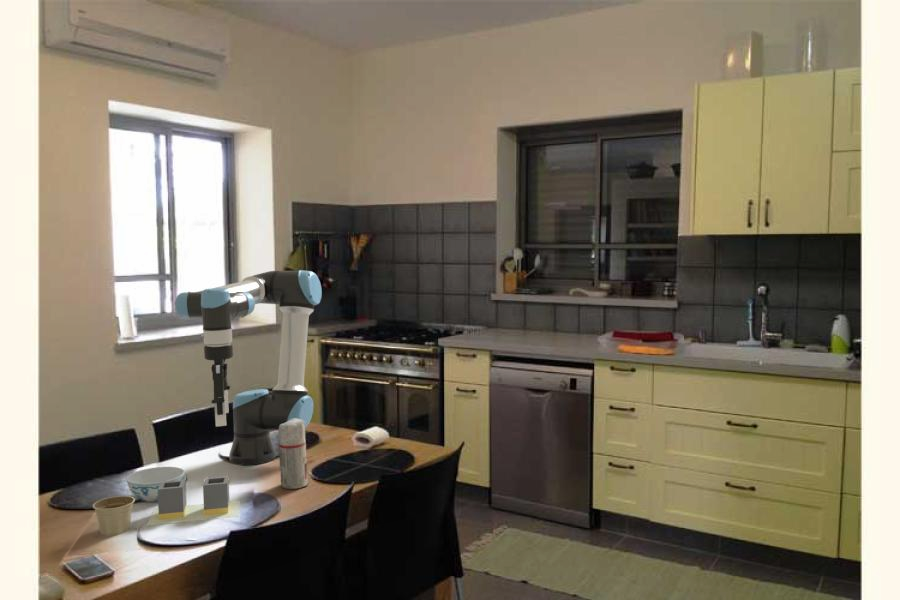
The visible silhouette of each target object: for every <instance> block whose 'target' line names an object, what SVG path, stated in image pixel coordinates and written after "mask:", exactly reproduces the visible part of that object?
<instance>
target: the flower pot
mask: <svg viewBox="0 0 900 600" xmlns="http://www.w3.org/2000/svg"><path fill="white" fill-rule="evenodd" d="M135 501H136V497H135V496H134V497H133V496H129V495H115V496H110V497H106V498H101V499H100V500H97V501H96V502H94V503H93V504H92V508H93V509H94V512H95V514H96V516H97V517H96V518H97V522H98V526H99V532H100V534H101V535H102V536H108V537H109V536H117V535H122V534H124V533H127V532H128V531H129V530H130V527H131V518H132V510H133V507H134V503H135Z"/></svg>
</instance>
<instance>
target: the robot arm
mask: <svg viewBox="0 0 900 600" xmlns="http://www.w3.org/2000/svg"><path fill="white" fill-rule="evenodd" d="M322 290H323V289H322V284H321V281H320V279H319V276H318V275H317V274H316V273H315V272H313V271H311V270H303V269H299V270H269V271H265V272H261V273H257V274H254V275H251V276H250V275H249V276H247V277H245V278H243V279H242V280H241V281H238V282H233V283H230V284H225V285H221V286H217V287H213V288H212V287H211V288H205V289H203V290H199V291H195V292H194V291H193V292H191V291H187V292H184V291H183V292H180V293H179V294H177V295H176V298H175V300H174V306H175V307H174V309H175V312H176V314H177V315H178V316H179V317H180V318H186V319H187V318H188V319H192V318H193V319H198V318H200V319H201V318H202V319H201V320H202V331H203V332H202V333H200V336H201V337H202V338H203V344H204V346H203V354H204V355H203V356H204V359H205V360H206V361H213V364H212V365H211V373H212V381H213V399H211V404H213V405H214V419H215V420H214V421H215V427H216V428H217V427H225V426H227V414H229V410H230V409H229V395H228V393H229V392H228V391H229V390H230V389H231V386H230V385H228V384H229V383H228V378H227V376H228V363H226V360H228V359H232V358H233V356H234V352H233V350H234V349H233V344H232V342H233V329H232V328H233V327H232V320H235V319H241V318H245V317H246V316H250V315H251V313H253V312H254V310H255V306H256V305H258V304H259V305H260V304H268V305H279V306H278V309H279V310H280V311H281V312H282V315H283V316H282V324H281V325H282V326H281V335H280V338H281V339H280V350H279V351H280V352H279V361H278V362H279V363H278V374H277V376H278V377H277V383H276V385H275V386H274V387H273V388H272V391H271V394H270V392H269V389H268V388H267V389H266V388H259V389H252V390H246V391H243V392H240V393H237V394H235V395H234V397H233V402H232V411H233V412H232V413H233V414H232V415H233V435H234V436H233V440H232V445H231V447H230V448H231V449H230V451H229V462H230V463H231V464H234V465H240V466H248V465H249V466H250V465H259V464H265V463H269V462H271V461H273V460H275V458H276V457H277V456H276V455H277V454H276V453H277V451H276V447H275V445H274V442H273V440H272V437H271V435H270V434H271V431H279V426H280V424H284V423H285V422H287V421H288V420H290V419H292V418H298V419H301V420H303V421H304V423H305V429H306V428H307V427H308V426H309V424H310V422H311V420H312V416H313V414H314V400H313V398H312V397H311V396H310V395H308V394H309V393H308V392H309V390H308V388H307V387H305V373H306V371H305V370H306V359H307V344H308V335H309V333H308V332H309V321H310V319H309V317H310V315H311V314H312V313H314V311H315V306H317V305H319V304H320V303H321V300H322V295H323V294H322V293H323V292H322Z"/></svg>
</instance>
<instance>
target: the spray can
mask: <svg viewBox="0 0 900 600" xmlns="http://www.w3.org/2000/svg"><path fill="white" fill-rule="evenodd" d="M277 437H278V442H277V443H278V452H279V453H278V455H279V470H280V484H281V488H283V489H286V490H297V489H302V488H304V487H306V486H308V485H309V481H308V463H307V462H308V461H307V443H306V428H305V423H304V421H303V420H301V419H298V418H292V419H290V420H288V421H287V422H285V423H284V424H280V426H279V430H278V436H277Z"/></svg>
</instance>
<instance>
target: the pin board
mask: <svg viewBox="0 0 900 600" xmlns="http://www.w3.org/2000/svg"><path fill="white" fill-rule="evenodd" d="M240 503H241V500H230V506H229V512H228V513H224V514H214V515H204V503H199V504H197V503H196V504H189V505H188V504H186V505H187V510H186V513H185V515H184V518H174V519H164V520H159V509H158V508H157V507H156V508H153V511H152V513H151V515H150V517H149V519H148V521H147V524H146V526H147V527H148V526H156V525H164V524H165V525H166V524H175V523H176V524H177V523H187V522H195V521H197V522H198V521H205V520H206V521H207V520H215V519H217V520H218V519H226V518H236V517H237V518H238V515H239V509H240Z"/></svg>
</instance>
